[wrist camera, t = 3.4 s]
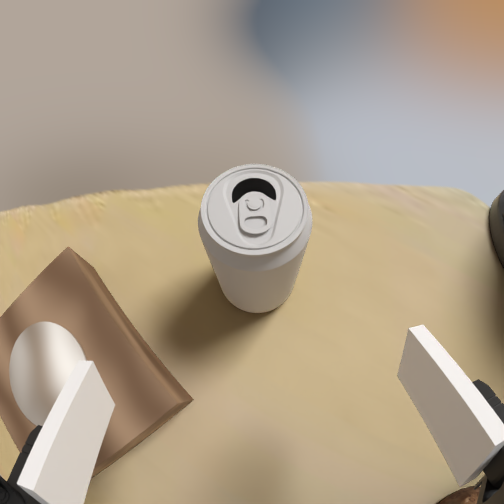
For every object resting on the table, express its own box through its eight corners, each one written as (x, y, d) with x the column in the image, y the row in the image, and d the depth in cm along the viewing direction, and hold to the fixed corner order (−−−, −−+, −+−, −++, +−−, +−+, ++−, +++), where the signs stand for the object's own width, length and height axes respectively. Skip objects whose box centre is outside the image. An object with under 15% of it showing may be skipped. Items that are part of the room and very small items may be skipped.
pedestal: (93, 267, 27) (65, 244, 22) (193, 399, 22) (176, 403, 17) (4, 358, 23) (-29, 349, 18) (79, 486, 18) (48, 498, 13)
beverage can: (289, 243, 28) (305, 154, 17) (297, 312, 25) (325, 256, 14) (220, 248, 28) (195, 161, 17) (221, 317, 25) (191, 265, 14)
